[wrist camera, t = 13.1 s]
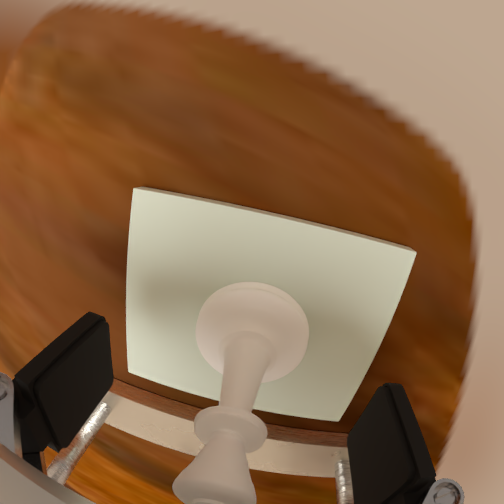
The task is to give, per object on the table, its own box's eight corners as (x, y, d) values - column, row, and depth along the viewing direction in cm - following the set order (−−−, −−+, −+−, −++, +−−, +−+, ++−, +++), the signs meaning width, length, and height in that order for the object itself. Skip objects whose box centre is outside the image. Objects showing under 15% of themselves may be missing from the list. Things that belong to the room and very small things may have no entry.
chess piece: (307, 277, 11) (333, 552, 2) (309, 373, 13) (311, 582, 3) (188, 283, 12) (36, 484, 3) (208, 374, 13) (136, 557, 4)
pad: (337, 411, 14) (338, 421, 14) (134, 363, 15) (128, 372, 14) (409, 247, 11) (416, 252, 11) (142, 186, 12) (133, 188, 11)
